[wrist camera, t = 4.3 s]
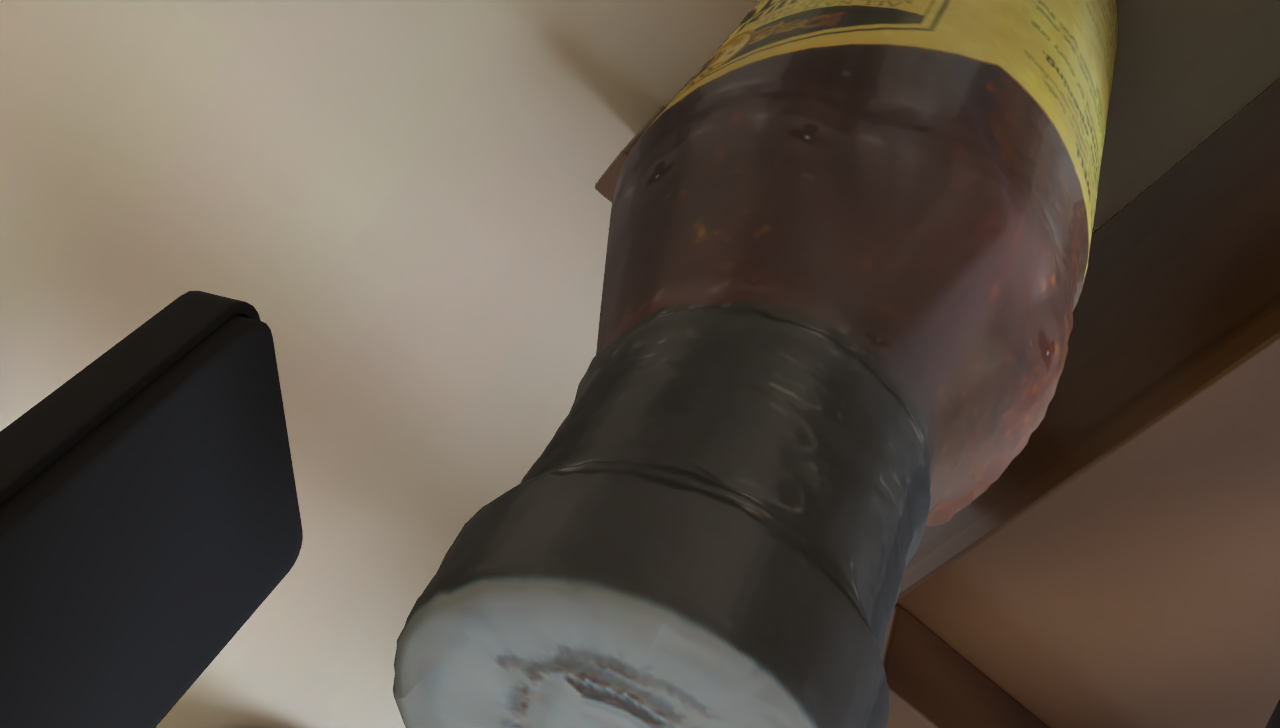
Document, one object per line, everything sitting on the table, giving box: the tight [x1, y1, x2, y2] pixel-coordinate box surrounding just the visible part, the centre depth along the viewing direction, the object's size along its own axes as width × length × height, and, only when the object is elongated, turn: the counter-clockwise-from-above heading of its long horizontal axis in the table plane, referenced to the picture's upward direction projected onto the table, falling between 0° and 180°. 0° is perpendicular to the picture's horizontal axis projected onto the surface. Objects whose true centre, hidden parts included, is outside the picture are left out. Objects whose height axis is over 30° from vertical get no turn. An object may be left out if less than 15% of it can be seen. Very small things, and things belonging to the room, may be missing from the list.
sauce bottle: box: [393, 0, 1118, 728], centre depth 17 cm, size 6×6×20 cm
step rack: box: [595, 79, 1280, 728], centre depth 21 cm, size 20×14×11 cm
